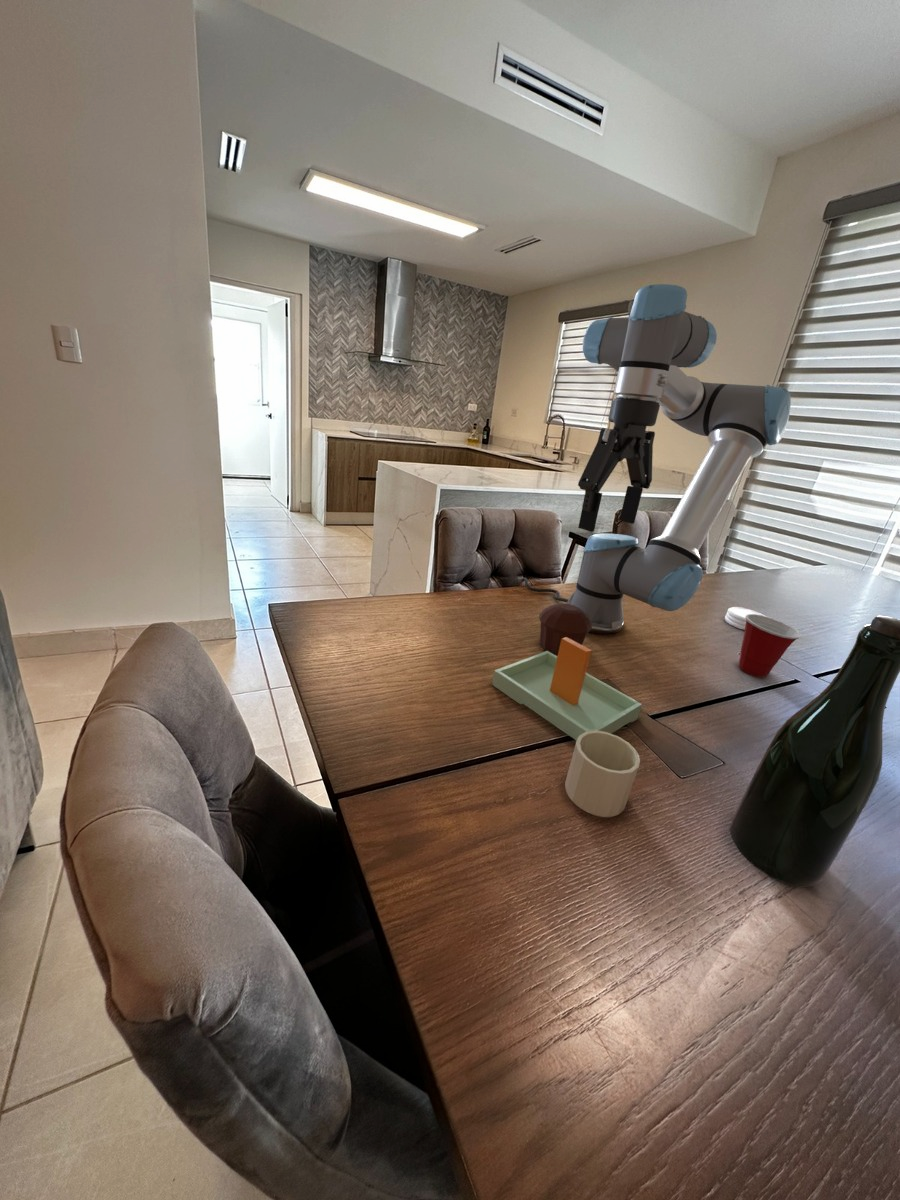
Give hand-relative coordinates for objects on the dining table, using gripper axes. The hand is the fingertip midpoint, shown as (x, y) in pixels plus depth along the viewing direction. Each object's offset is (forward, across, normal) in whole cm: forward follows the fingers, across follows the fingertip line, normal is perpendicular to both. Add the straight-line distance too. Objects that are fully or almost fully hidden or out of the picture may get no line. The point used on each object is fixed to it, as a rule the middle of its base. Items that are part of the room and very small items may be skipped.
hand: (607, 525), depth 85 cm
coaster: (+33, +66, -11) cm, 75 cm away
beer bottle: (+31, -15, -42) cm, 54 cm away
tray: (+31, -11, -6) cm, 33 cm away
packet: (+30, -12, -6) cm, 32 cm away
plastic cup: (+32, +38, -23) cm, 55 cm away
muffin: (+31, +6, +8) cm, 33 cm away
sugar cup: (+30, -27, -22) cm, 46 cm away
